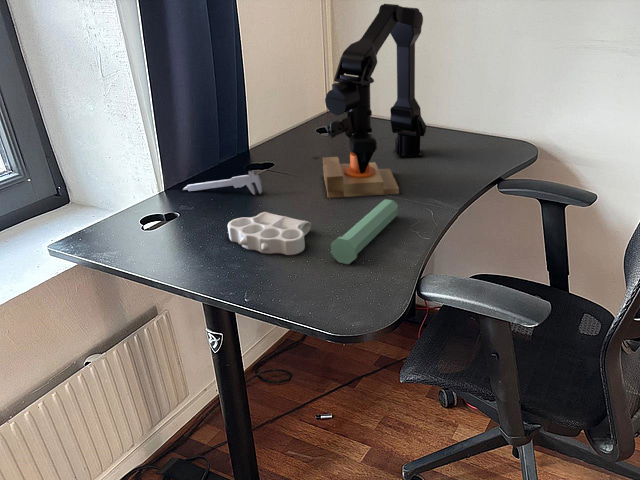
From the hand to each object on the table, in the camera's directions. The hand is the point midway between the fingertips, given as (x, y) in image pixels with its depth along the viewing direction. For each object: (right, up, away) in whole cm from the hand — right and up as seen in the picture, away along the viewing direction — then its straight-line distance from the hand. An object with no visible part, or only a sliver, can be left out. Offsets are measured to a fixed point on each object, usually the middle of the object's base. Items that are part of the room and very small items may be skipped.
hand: (359, 166), depth 157 cm
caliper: (-34, -7, -2) cm, 35 cm away
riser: (0, -4, +3) cm, 5 cm away
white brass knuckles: (-18, -21, -24) cm, 37 cm away
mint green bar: (+4, -21, -22) cm, 31 cm away
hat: (0, -1, +1) cm, 2 cm away
